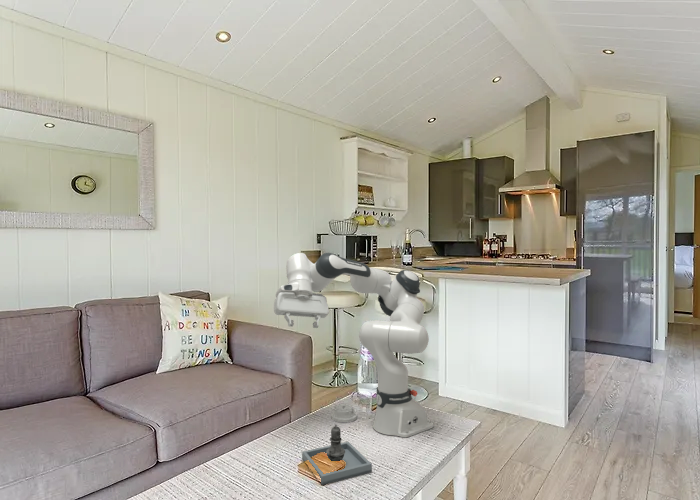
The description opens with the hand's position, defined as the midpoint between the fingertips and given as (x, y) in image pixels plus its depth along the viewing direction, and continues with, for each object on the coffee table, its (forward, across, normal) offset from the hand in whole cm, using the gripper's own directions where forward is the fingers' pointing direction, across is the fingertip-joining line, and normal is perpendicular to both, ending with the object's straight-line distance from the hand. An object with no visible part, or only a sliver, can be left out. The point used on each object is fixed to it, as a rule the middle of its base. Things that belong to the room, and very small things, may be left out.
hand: (303, 326), depth 156 cm
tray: (+46, -6, -1) cm, 46 cm away
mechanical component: (+26, -24, -25) cm, 43 cm away
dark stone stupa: (+45, -6, 0) cm, 45 cm away
